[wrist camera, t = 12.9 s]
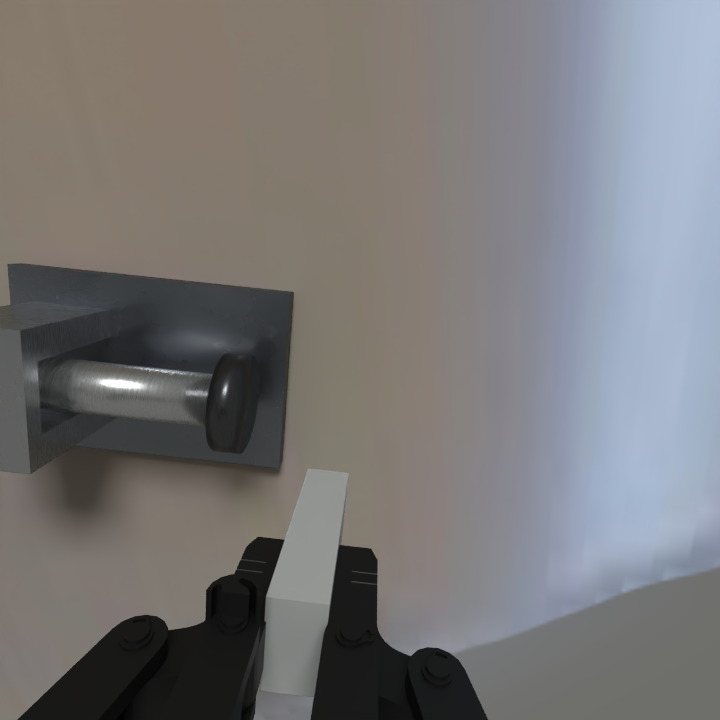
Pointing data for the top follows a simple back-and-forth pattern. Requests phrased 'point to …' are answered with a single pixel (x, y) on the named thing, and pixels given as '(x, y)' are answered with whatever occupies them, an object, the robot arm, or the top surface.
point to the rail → (134, 358)
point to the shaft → (160, 395)
